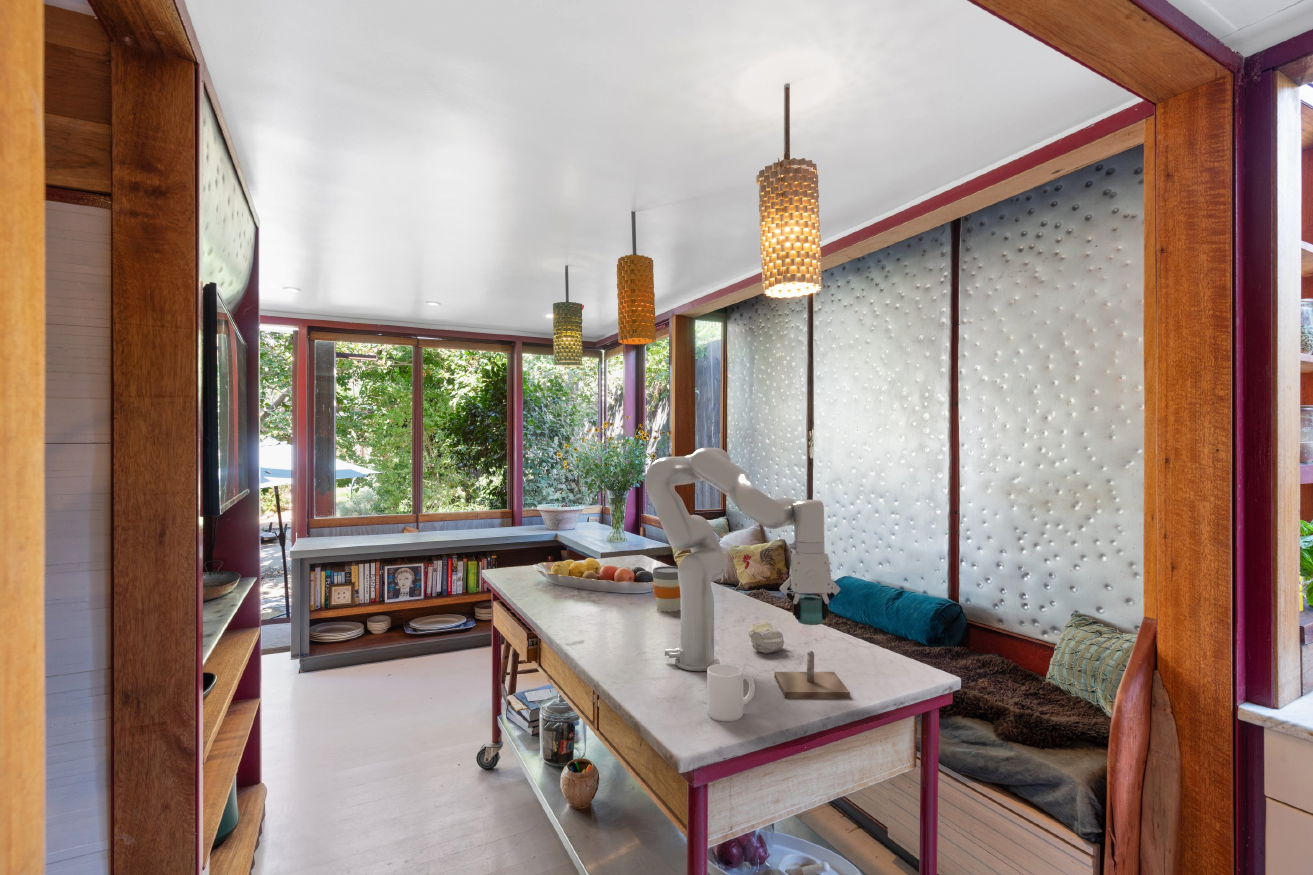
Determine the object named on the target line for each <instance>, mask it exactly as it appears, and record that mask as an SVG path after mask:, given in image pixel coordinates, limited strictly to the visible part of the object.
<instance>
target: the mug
mask: <svg viewBox="0 0 1313 875" xmlns="http://www.w3.org/2000/svg"><path fill="white" fill-rule="evenodd" d="M706 672H707V673H706V676H707V677H706V681H707V682H706V685H707V687H706V689H707V691H706V692H707V693H706V704H707V705H706V708H707V710H706V711H707V715H708V716H709V717H710V718H711V719H713V720H715V721H718V722H723V723H724V722H725V723H726V722H728V723H729V722H735V721H738V720H740V719H741V718H742V717H743V715H744V705H746V704H748V703H749V702H751V700H752V699H753V697H754V694H755V689H756V686H755V685H756V684H755V680H754V679H753V677H752V676H751V674H749V673H747V672H744V669H743V668H742V667H740V666H738V665H736V664H731V663H720V664H716V665H712V666H710V667H708V669H707V671H706ZM744 680H746V681H747V683H748V686H749V688H748V692H747V694H746V695H745V697H744Z"/></svg>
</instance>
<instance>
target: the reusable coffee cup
mask: <svg viewBox="0 0 1313 875" xmlns="http://www.w3.org/2000/svg"><path fill="white" fill-rule="evenodd" d="M651 576H652V578H653V579H652V580H653V583H652V588H653V596H654V597H655V604H656V610H658V611H659V610H660V612H663V611H668V612H667V613H672V612H671V611H675V612H678V610H679V611H681V596H680V585H679V580H678V566H673V565H670V566H669V565H668V566H667V565H666V566H663V565H662V566H657V567H653V569H652V575H651Z"/></svg>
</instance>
